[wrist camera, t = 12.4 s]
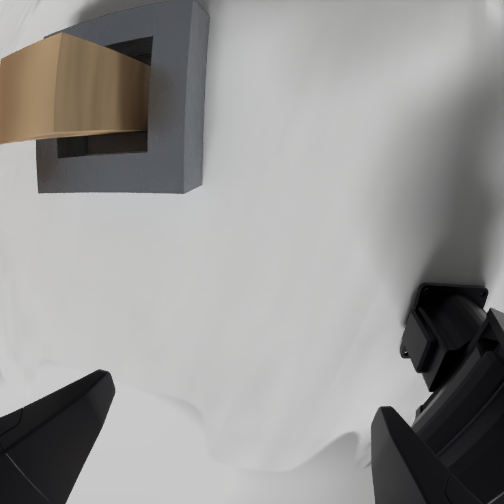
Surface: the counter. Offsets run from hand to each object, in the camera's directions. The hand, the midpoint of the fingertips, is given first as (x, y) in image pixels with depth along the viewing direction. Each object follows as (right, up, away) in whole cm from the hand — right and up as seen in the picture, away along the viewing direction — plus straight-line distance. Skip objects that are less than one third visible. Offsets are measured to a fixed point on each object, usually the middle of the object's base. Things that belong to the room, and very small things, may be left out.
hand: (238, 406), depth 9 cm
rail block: (-8, +15, +10) cm, 20 cm away
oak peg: (-8, +15, +10) cm, 20 cm away
